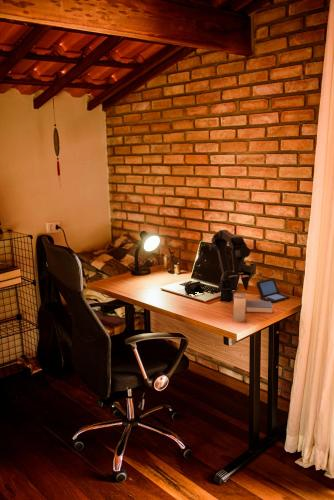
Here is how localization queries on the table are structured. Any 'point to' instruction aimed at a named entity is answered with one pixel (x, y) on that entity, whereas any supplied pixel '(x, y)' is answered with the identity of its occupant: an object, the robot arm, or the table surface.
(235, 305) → the pen cup
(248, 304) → the gray book
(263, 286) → the handheld game console
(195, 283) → the end cap
